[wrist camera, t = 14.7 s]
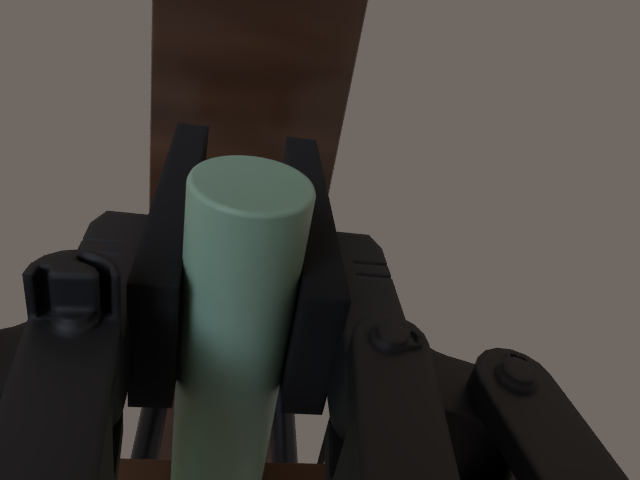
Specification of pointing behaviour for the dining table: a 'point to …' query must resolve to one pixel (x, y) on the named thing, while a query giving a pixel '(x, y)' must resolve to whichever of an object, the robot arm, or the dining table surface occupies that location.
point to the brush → (235, 320)
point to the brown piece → (248, 110)
